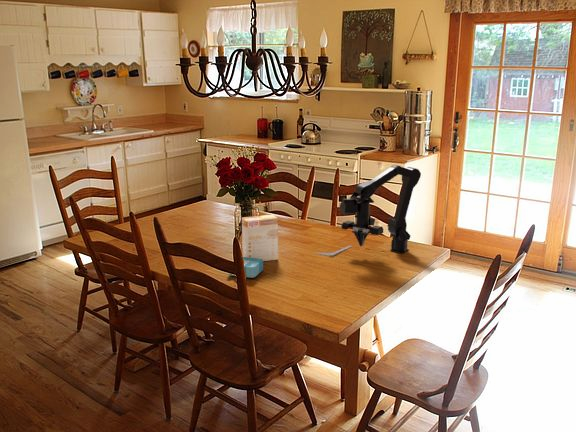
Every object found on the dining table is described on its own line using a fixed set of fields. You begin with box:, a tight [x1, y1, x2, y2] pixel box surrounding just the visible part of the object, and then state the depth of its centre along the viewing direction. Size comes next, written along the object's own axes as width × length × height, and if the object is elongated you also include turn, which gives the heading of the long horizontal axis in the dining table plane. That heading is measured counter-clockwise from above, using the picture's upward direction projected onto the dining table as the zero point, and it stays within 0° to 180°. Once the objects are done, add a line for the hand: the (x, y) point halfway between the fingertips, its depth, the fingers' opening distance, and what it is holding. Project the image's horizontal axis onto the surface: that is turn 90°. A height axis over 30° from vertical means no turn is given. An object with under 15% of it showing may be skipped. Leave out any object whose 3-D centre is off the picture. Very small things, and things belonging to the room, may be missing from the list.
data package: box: [228, 256, 264, 279], centre depth 223 cm, size 12×4×12 cm
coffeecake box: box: [241, 214, 279, 262], centre depth 238 cm, size 15×7×20 cm, turn 111°
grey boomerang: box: [313, 245, 353, 258], centre depth 254 cm, size 14×18×1 cm
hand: (361, 246), depth 243 cm, fingers closed
